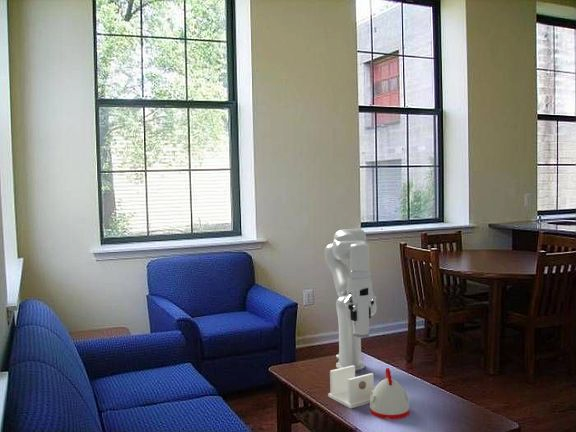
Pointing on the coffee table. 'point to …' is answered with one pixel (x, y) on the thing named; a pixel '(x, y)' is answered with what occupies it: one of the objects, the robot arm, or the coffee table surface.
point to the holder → (350, 387)
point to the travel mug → (362, 315)
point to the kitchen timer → (389, 399)
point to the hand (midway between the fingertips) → (360, 318)
